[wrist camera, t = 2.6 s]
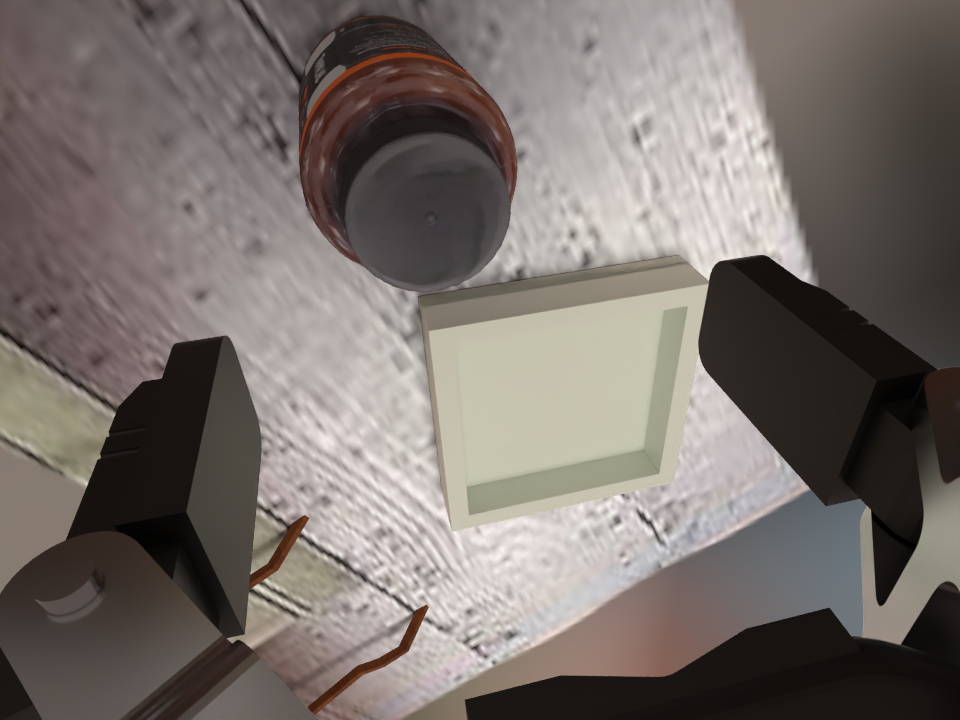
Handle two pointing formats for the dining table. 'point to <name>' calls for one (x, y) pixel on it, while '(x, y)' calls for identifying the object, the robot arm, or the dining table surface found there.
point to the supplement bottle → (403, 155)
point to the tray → (561, 386)
